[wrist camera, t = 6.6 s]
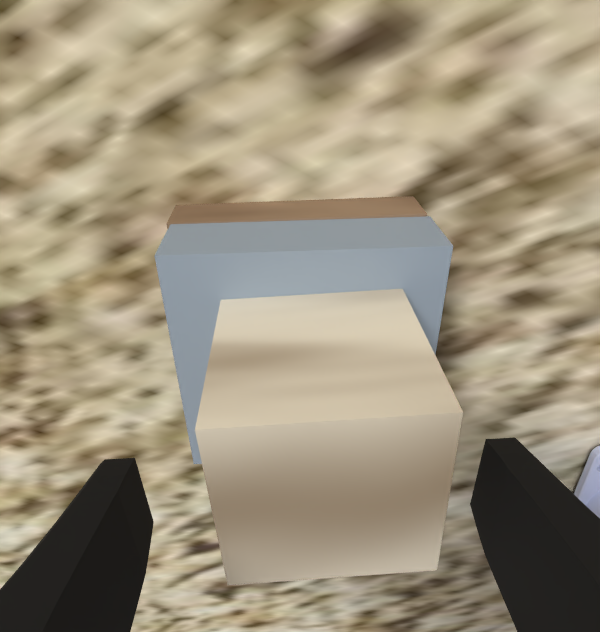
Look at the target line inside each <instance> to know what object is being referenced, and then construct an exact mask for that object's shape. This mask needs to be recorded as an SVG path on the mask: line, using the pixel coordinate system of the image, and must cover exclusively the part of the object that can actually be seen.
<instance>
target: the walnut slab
mask: <svg viewBox="0 0 600 632" xmlns="http://www.w3.org/2000/svg"><path fill="white" fill-rule="evenodd" d="M425 216H427V213H426V212H425V211H424V210H423V208H422V207H421V206H420V204H419V203H418V202H417V200H416V199H415V198H414V197H413V196H409V197H382V198H355V199H328V200H301V201H274V202H247V203H220V204H193V205H176V207H175V209H174V210H173V212H172V214H171V216H170V218H169V220H168V222H167V228H169V226H170V224H198V223H230V222H262V221H295V220H327V219H360V218H392V217H425Z"/></svg>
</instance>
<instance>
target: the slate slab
mask: <svg viewBox="0 0 600 632" xmlns="http://www.w3.org/2000/svg"><path fill="white" fill-rule="evenodd" d="M452 249H453V245H452V244H451V243H450V241H449V240H448V239H447V237H446V236H445V235H444V234H443V232H442V231H441V230H440V228H439V227H438V226H437V225H436V223H435V222H434V221H433V219H432V218H431V217H430V216H425V217H392V218H360V219H327V220H295V221H262V222H230V223H198V224H170V226H169V228H168V230H167V232H166V234H165V236H164V238H163V240H162V242H161V244H160V246H159V248H158V250H157V252H156V254H155V260H156V266H157V271H158V276H159V282H160V287H161V292H162V297H163V303H164V308H165V313H166V319H167V324H168V329H169V335H170V340H171V345H172V350H173V356H174V361H175V366H176V372H177V377H178V382H179V387H180V393H181V398H182V403H183V409H184V414H185V419H186V425H187V430H188V435H189V440H190V446H191V451H192V456H193V462H194V464H202V461H201V457H200V452H199V447H198V442H197V438H196V433H195V427H196V422H197V417H198V412H199V406H200V401H201V396H202V391H203V386H204V381H205V376H206V371H207V366H208V361H209V356H210V351H211V346H212V341H213V336H214V331H215V326H216V321H217V316H218V311H219V306H220V301H221V300H225V299H241V298H258V297H274V296H290V295H306V294H323V293H339V292H355V291H371V290H388V289H403V290H404V292H405V294H406V297H407V299H408V301H409V303H410V305H411V307H412V309H413V311H414V313H415V315H416V317H417V319H418V321H419V323H420V325H421V327H422V329H423V331H424V333H425V335H426V337H427V339H428V341H429V343H430V345H431V348H432V350H433V352H434V354H435V355H436V348H437V342H438V336H439V330H440V324H441V317H442V311H443V305H444V299H445V293H446V287H447V280H448V274H449V268H450V262H451V256H452Z"/></svg>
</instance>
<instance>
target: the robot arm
mask: <svg viewBox="0 0 600 632" xmlns="http://www.w3.org/2000/svg"><path fill="white" fill-rule="evenodd" d="M470 505H471V509H472V512H473V516H474V519H475V523H476V526H477V530H478V533H479V536H480V540H481V543H482V546H483V549H484V553H485V555H486V558H487V560H488V563H489V565H490V568H491V570H492V572H493V575H494V577H495V580H496V582H497V584H498V587H499V589H500V592H501V594H502V596H503V599H504V601H505V603H506V606H507V608H508V610H509V613H510V615H511V618H512V620H513V622H514V625H515V627H516V629H517V632H600V445H599V446H597V447H595V448H594V449H593V450H592V451H591V453H590V455H589V458H588V460H587V463H586V465H585V468H584V470H583V472H582V475H581V477H580V480H579V482H578V485H577V487H576V490H575V492H574V494H573V493H572V492H571V491H570V490H569V489H568V488H567V487H566V486H565V485H564V484H562V483H561V482H560V481H559V480H558V479H557V478H556V477H555V476H554V475H553V474H552V473H551V472H550V471H549V470H548V469H547V468H546V467H545V466H544V465H543V464H542V463H541V462H540V461H539V460H538V459H537V458H536V457H535V456H534V455H532V454H531V453H530V452H529V451H528V450H527V449H526V448H525V447H524V446H523V445H522V444H521V443H520V442H519V441H518V440H517V439H516V438H501V439H486V441H485V445H484V449H483V453H482V457H481V461H480V466H479V470H478V474H477V478H476V482H475V486H474V490H473V495H472V499H471V503H470ZM152 529H153V519H152V515H151V512H150V508H149V505H148V502H147V498H146V495H145V491H144V488H143V484H142V481H141V478H140V474H139V471H138V467H137V464H136V461H135V458H126V459H107V460H104V461H103V462H102V463H101V464H100V465H99V466H98V468H97V469H96V470H95V472H94V473H93V474H92V476H91V477H90V478H89V480H88V481H87V482H86V484H85V485H84V486H83V488H82V489H81V490H80V491H79V493H78V494H77V495H76V497H75V498H74V499H73V501H72V502H71V503H70V505H69V506H68V507H67V509H66V510H65V511H64V512H63V514H62V515H61V516H60V518H59V519H58V520H57V521H56V523H55V524H54V525H53V526H52V528H51V529H50V530H49V531H48V533H47V534H46V535H45V536H44V538H43V539H42V540H41V541H40V543H39V544H38V545H37V546H36V548H35V549H34V550H33V551H32V552H31V554H30V555H29V556H28V557H27V559H26V560H25V561H24V562H23V564H22V565H21V566H20V567H19V568H18V570H17V571H16V572H15V573H14V574H13V575H12V576H11V578H10V579H9V580H8V581H7V582H6V583H5V585H4V586H3V587H2V588H1V589H0V632H130V630H131V627H132V623H133V619H134V616H135V612H136V608H137V604H138V601H139V597H140V593H141V589H142V585H143V582H144V578H145V574H146V568H147V562H148V556H149V549H150V543H151V536H152Z"/></svg>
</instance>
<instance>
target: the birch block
mask: <svg viewBox="0 0 600 632" xmlns="http://www.w3.org/2000/svg"><path fill="white" fill-rule="evenodd" d="M462 417H463V411H462V409H461V407H460V405H459V403H458V401H457V399H456V397H455V394H454V392H453V390H452V388H451V386H450V384H449V382H448V380H447V378H446V376H445V374H444V372H443V370H442V368H441V366H440V364H439V362H438V360H437V358H436V356H435V354H434V352H433V350H432V348H431V345H430V343H429V341H428V339H427V337H426V335H425V333H424V331H423V329H422V327H421V325H420V323H419V321H418V319H417V317H416V315H415V313H414V311H413V309H412V307H411V305H410V303H409V301H408V299H407V297H406V294H405V292H404V290H403V289H388V290H371V291H355V292H339V293H323V294H306V295H290V296H274V297H258V298H241V299H225V300H221V301H220V306H219V311H218V316H217V321H216V326H215V331H214V336H213V341H212V346H211V351H210V356H209V361H208V366H207V371H206V376H205V381H204V386H203V391H202V396H201V401H200V406H199V412H198V417H197V422H196V427H195V433H196V438H197V442H198V447H199V452H200V457H201V461H202V466H203V471H204V475H205V480H206V485H207V490H208V494H209V499H210V504H211V508H212V513H213V518H214V523H215V527H216V532H217V537H218V541H219V546H220V551H221V556H222V560H223V565H224V570H225V574H226V579H227V584H228V585H236V584H251V583H265V582H279V581H293V580H307V579H322V578H336V577H350V576H364V575H379V574H393V573H407V572H421V571H435V570H437V566H438V560H439V554H440V548H441V542H442V536H443V530H444V524H445V519H446V513H447V507H448V501H449V495H450V489H451V483H452V477H453V471H454V465H455V459H456V453H457V447H458V441H459V435H460V429H461V423H462Z"/></svg>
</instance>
